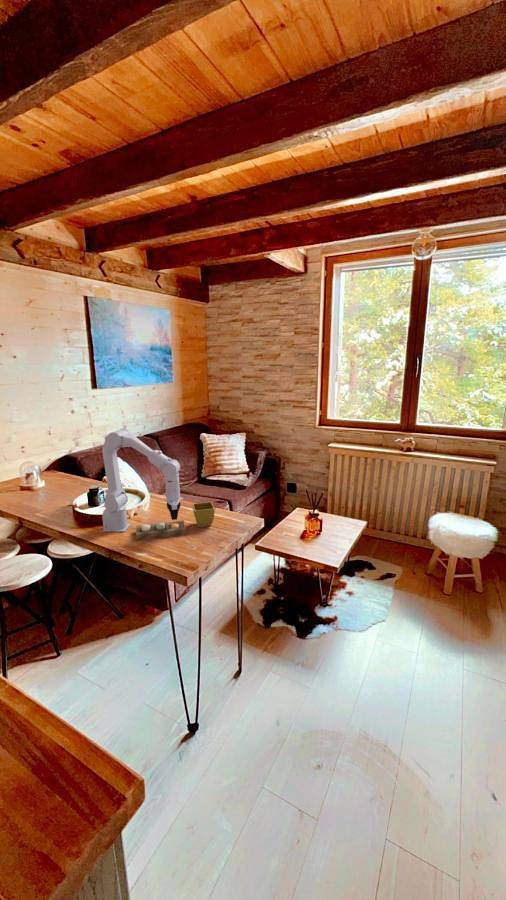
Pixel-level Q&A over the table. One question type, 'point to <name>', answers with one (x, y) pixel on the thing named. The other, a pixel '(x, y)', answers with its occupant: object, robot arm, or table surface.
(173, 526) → the orange button
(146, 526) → the cream button
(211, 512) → the flower pot
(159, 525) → the sage button
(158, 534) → the button board
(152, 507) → the table surface
